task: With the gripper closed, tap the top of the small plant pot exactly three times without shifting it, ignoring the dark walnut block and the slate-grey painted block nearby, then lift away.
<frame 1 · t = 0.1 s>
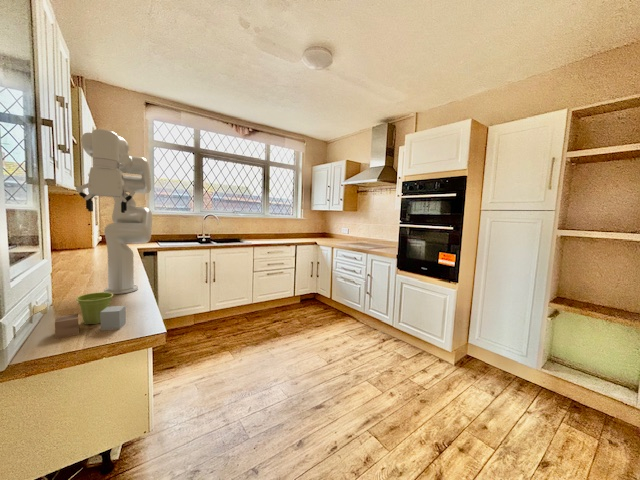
hand: (107, 212, 98), 37 cm above the counter, tool pointing down, fingers open, 9 cm apart
walnut block: (67, 333, 80), on the counter
slate block: (113, 326, 86), on the counter
plant pot: (96, 321, 89), on the counter
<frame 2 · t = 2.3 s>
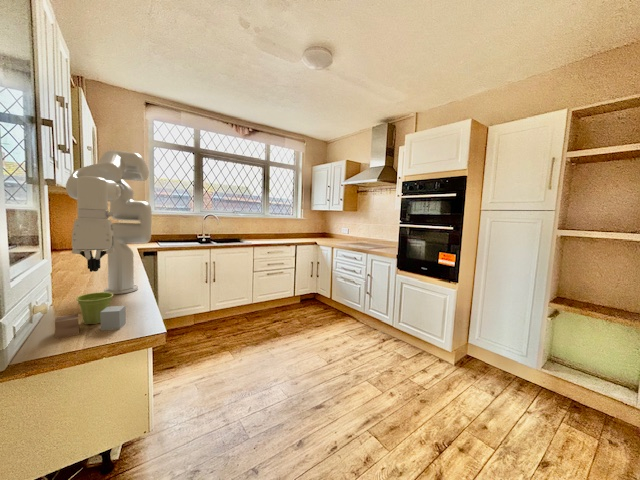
hand: (94, 270, 87), 17 cm above the counter, tool pointing down, fingers closed
nothing on the counter moved.
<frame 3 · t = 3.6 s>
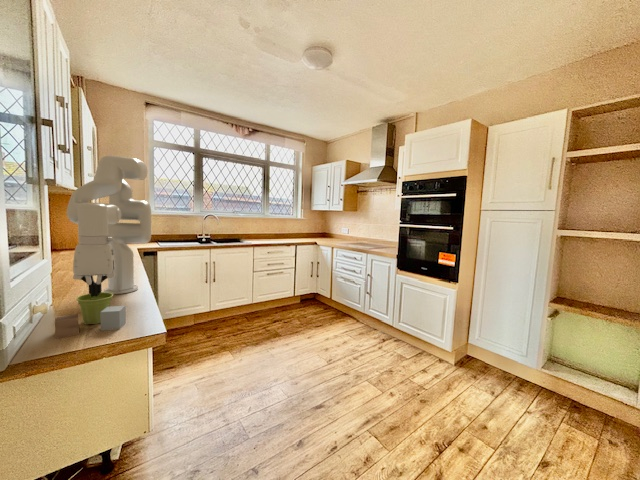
hand: (95, 295, 88), 9 cm above the counter, tool pointing down, fingers closed
nothing on the counter moved.
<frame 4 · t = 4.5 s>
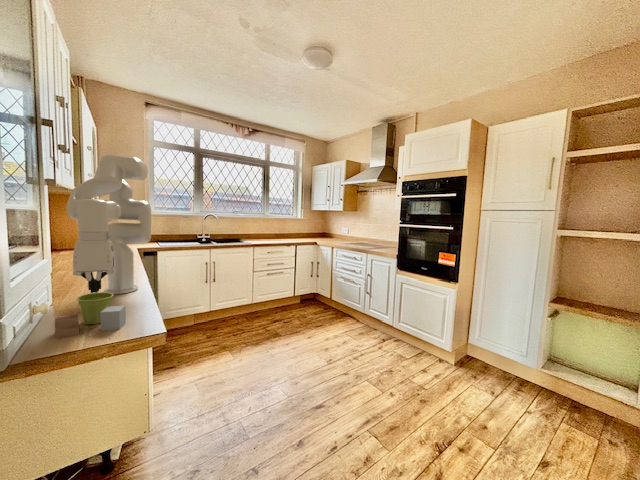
hand: (95, 291, 88), 10 cm above the counter, tool pointing down, fingers closed
nothing on the counter moved.
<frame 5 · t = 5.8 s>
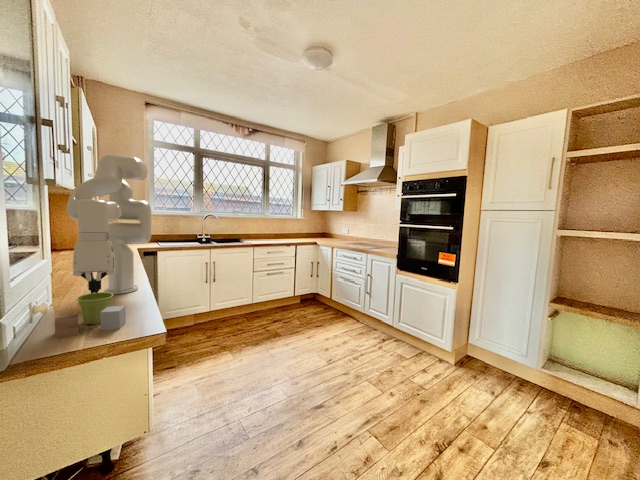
hand: (95, 292, 88), 10 cm above the counter, tool pointing down, fingers closed
nothing on the counter moved.
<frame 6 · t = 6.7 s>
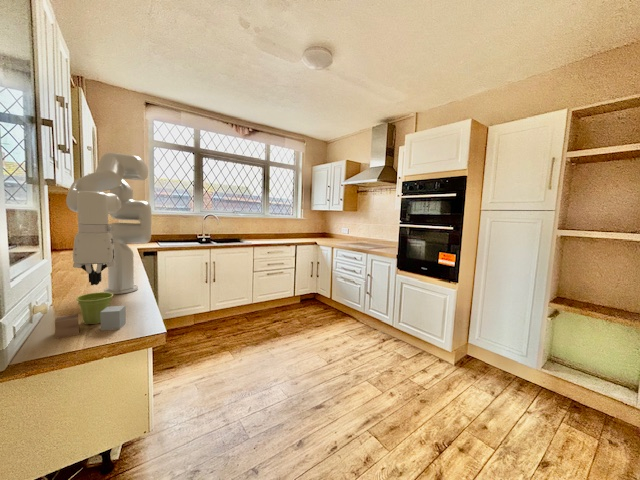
hand: (95, 284, 88), 13 cm above the counter, tool pointing down, fingers closed
nothing on the counter moved.
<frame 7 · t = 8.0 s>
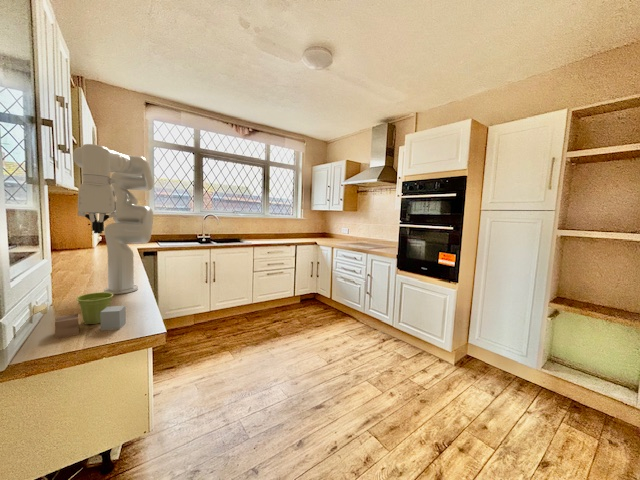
hand: (98, 233, 95), 29 cm above the counter, tool pointing down, fingers closed
nothing on the counter moved.
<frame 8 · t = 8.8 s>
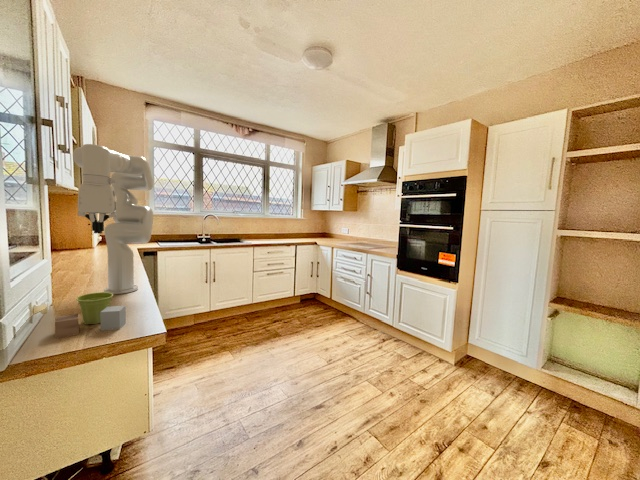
hand: (98, 233, 95), 29 cm above the counter, tool pointing down, fingers closed
nothing on the counter moved.
at the end: plant pot moved 0.2 cm from its start; plant pot tilted 0°; walnut block moved 0.1 cm from its start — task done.
